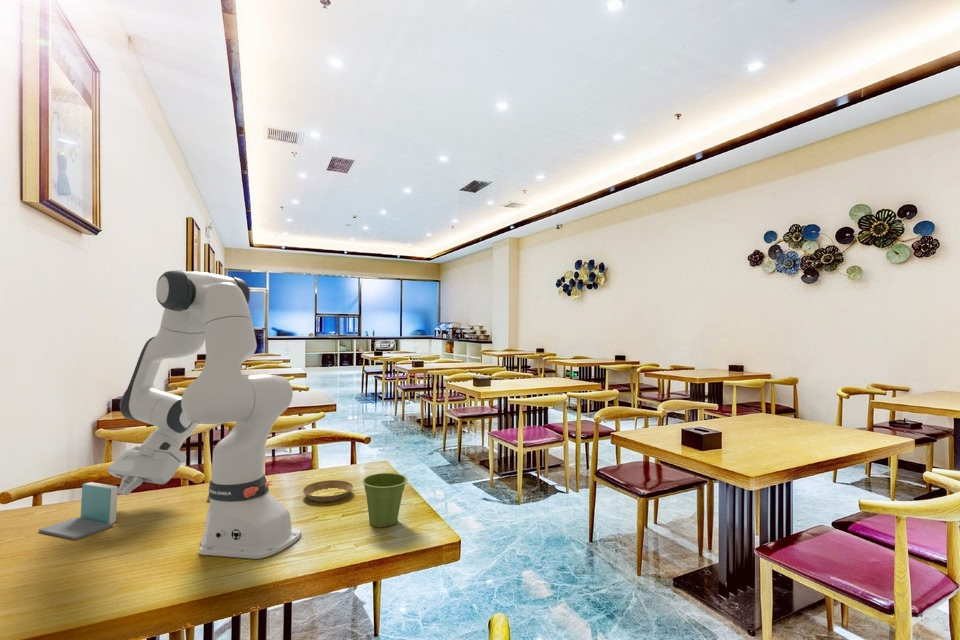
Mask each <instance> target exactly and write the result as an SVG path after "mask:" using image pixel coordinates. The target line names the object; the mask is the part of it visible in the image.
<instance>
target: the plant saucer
mask: <svg viewBox="0 0 960 640" xmlns="http://www.w3.org/2000/svg"><path fill="white" fill-rule="evenodd" d="M328 488H338V489H344V490H346V491H347V492H345V493H342V494H338V495H333V496H312V495H310V494H311V493H313V492H315V491H318V490H322V489H328ZM353 488H354V485H353V483H351V482H349V481H347V480H346V481H345V480H340V479H339V480H338V479H337V480H336V479H335V480H334V479H333V480H332V479H331V480H330V479H329V480H328V479H327V480H321V481H316V482H313V483H310V484H308V485H305V486H304V488H302V492H303V494H304V495H305V497H307V498H308V499H309V500H310V499H311V501H312V500H314V501H313V502H316V501H322V502H321V503H326V501H330V502H335V501H334V500H336V501H338V499H339V500H342V499H344V498H346V497H347V496H348V495H349V493H351V491H352V490H353ZM343 497H344V498H343ZM341 498H342V499H341Z"/></svg>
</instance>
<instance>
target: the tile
mask: <svg viewBox="0 0 960 640" xmlns="http://www.w3.org/2000/svg"><path fill="white" fill-rule="evenodd" d="M118 488H119V486H118V485H111V484H105V483H101V482H100V483H99V482H93V481H91V482H85V483H82V487H81V503H80V504H81V505H80V518H84V519H89V520H94V521H99V522H104V523H109V524H113V523H116V522H117V509H118Z"/></svg>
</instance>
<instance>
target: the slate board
mask: <svg viewBox="0 0 960 640" xmlns="http://www.w3.org/2000/svg"><path fill="white" fill-rule="evenodd" d="M112 527H113V523H110V524H109V523H104V522H99V521H94V520H89V519H84V518H81V517H79V516H77V517H73V518H70V519H66V520H64V521H61V522H58V523H55V524H52V525H48V526H45V527H43V528H39V529H38V532H39V533H42V534H45V535H46V534H47V535H51V536H56V537H60V538H64V539H69V540H74V541H77V540H79V539H82V538H85V537H88V536H91V535H93V534H96V533H98V532H102V531H104V530H106V529H109V528H112Z"/></svg>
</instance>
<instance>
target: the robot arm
mask: <svg viewBox="0 0 960 640" xmlns="http://www.w3.org/2000/svg"><path fill="white" fill-rule="evenodd" d="M250 291H251V290H250V288H249V286H248V284H247V282H246V281H245V280H244V279H241V278H238V277H236V276H226V275H222V274H218V273H217V274H215V273H209V272H206V271H205V272H204V271H183V270H180V269H179V270H177V269H176V270H168V271H165V272H163V273H162V274H161V276H159V278H158V280H157V283H156V287H155V292H156V293H155V294H156V299H157V301H158V304H159V305H160V306H161V307H163V308H164V309H163V314H162V317H161V321H160V326H159V330H158V332H157V334H156V335H155V336H153V337H150V338H149V339H148V340H146V342H145V343H144V345H143V348H142V350H141V352H140V354H139V357H138V358H137V362H136V365H135V367H134V371H133V373H132V376H131V378H130V381H129V384H128V386H127V388H126V390H125V391H124V393H123V395H122V397H121V399H120V401H119V409H120V414H122V416H123V417H124V418H125V419H127V420H132V421H137V422H138V421H139V422H143V423H146V424H149V425H151V426H152V425H153V426H157V428H156V429H154V430H153V431H152V432H151V433H150V434H149V436H147V437H146V439H145V440H144V441H143V442H142V443H141V444H140V445H139V446H134V447H133V448H129V449H127V450H126V451H124V452H123V453H122V454H121V455H119V456H118V457H117V459H115V460H114V461H113V462H112V463H111V464H110V465H109V466H108V468H107V473H109V474H110V475H111V476H112V477H114V478H119V479H121V482H120V485H119V486H118V493H117V495H122V496H129V495H130V493H131V492H132V491H133V490H135V489H137V488H138V487H139V486H141V485H142V484H143V482H145V483H151V484H157V485H164V484H166V483H168V482H169V481H170V480H171V479H172V478H173V476H174V475H175V474H176V472H177V471H179V468H180V466H181V464H182V463H184V462H185V461H186V460H187V455H186V454H184V453H183V452H182V451H181V450H180V449H181V447H182V445H183V443H184V442H185V440H186V439H188V438H190V436H192V435H191V434H192V433H193V432H194V431H195V430H196V429H197V427H198V425H220V424H221V425H222V424H227V423H234V422H235V424H234V426H233V428H232V430H231V431H230V432H229V433H228V434H227V435H226V436H225V437H223V438H222V439H221V440H219V441H218V442H217V443H216V444H215V446H214V448H213V452H212V467H211V468H212V469H211V480H210V481H209V487H208V495H209V497H210V502H209V506H208V509H207V513H206V517H205V524H204V530H203V534H202V538H201V541H200V547H199V550H198V554H199V555H202V556H216V557H229V558H230V557H231V558H241V559H242V558H243V559H255V560H256V559H257V560H258V559H263V558H266V557H270V556H273V555H275V554H277V553H279V552H282V551H283V550H285V549H286V548H288V547H290V546H291V545H293V544H294V543H296V542H297V541H298V540H299V539H300V537H301V535H302V530H301V529H300V528H296V527H293V526H292V520H291V514H290V511H289V509H287V508H286V507H285V506H284V505H283V504H282V503H281V502H280V501H279V500H278V499H277V498H276V497H275V496H274V495H273V494H272V493H271V492H270V489H269V487H270V486H273V480H269V481H268V480H267V478H266V476H265V473H264V466H265V464H264V463H265V452H266V445H267V441H268V438H269V436H270V433H271V431H272V428H273V427H274V425H275V423H276V421H277V419H278V418H279V417H280V416H281V415H282V414H283V413H284V412H285V411H286V410H287V409H288V408H289V406H291V404H292V401H293V395H294V394H293V387H292V385H291V382H289V380H288V378H286V377H284V376H282V375H277V374H268V373H261V374H259V373H258V374H244V375H243V373H242V363H244V362H246V361H247V360H248V359H250V358H252V356H253V355H254V354H255V352H256V350H257V347H258V345H257V339H256V335H255V329H254V324H253V319H252V313H251V310H250V308H249V307H250V306H249V304H250V299H251V292H250ZM204 344H205V345H204ZM203 345H204V346H205V362H204V365H203V368H202V370H201V372H200V374H199V375H198V376H197V377H196V378H195V379H194V380H193V381H192V382H190V384H189V385H188V386H187V387H186V388H185V390H184V391H183V394H182V396H181V395H178V394H175V393H171V392H167V391H164V390H160V389H158V388H156V386H155V385H154V381H155V379H156V377H157V374H158V371H159V369H160V365H161V363H162V362H163V361H164V359H177V358H178V359H179V358H183V357H188V356H190V355H192V354H195V353H196V352H198V351H199V350H200V349H201V348H202V347H203Z"/></svg>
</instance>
